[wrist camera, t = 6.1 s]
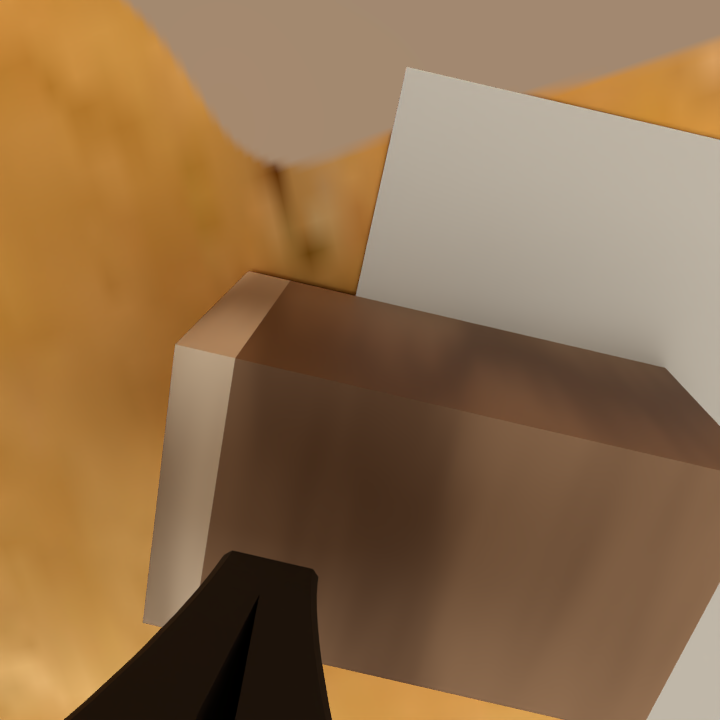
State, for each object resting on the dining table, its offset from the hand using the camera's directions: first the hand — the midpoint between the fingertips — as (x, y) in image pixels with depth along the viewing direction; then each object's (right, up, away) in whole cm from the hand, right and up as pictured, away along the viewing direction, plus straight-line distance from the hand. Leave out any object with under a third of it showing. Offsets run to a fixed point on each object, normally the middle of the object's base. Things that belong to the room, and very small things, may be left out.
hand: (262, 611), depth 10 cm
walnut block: (-2, +2, +4) cm, 5 cm away
